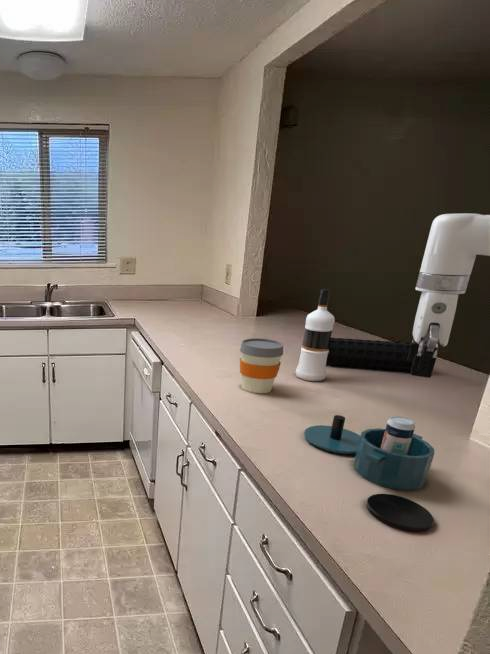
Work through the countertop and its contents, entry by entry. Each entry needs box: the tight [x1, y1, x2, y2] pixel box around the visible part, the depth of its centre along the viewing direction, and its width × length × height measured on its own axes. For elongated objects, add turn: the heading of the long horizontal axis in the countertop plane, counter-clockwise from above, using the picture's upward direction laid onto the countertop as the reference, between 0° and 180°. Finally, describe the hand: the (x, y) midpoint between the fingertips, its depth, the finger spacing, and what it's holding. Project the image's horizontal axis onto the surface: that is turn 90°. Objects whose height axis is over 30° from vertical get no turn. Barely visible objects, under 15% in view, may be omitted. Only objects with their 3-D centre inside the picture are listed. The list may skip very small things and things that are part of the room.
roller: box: [326, 337, 416, 372], centre depth 158 cm, size 38×10×10 cm, turn 71°
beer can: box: [380, 415, 416, 455], centre depth 90 cm, size 5×5×12 cm
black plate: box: [366, 493, 435, 533], centre depth 79 cm, size 10×10×1 cm
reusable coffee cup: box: [239, 337, 284, 394], centre depth 137 cm, size 12×13×15 cm
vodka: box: [295, 288, 336, 382], centre depth 144 cm, size 9×9×30 cm
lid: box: [303, 414, 361, 455], centre depth 104 cm, size 14×14×7 cm
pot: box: [353, 428, 435, 492], centre depth 91 cm, size 13×18×8 cm
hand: (418, 369), depth 88 cm, fingers open, 9 cm apart
